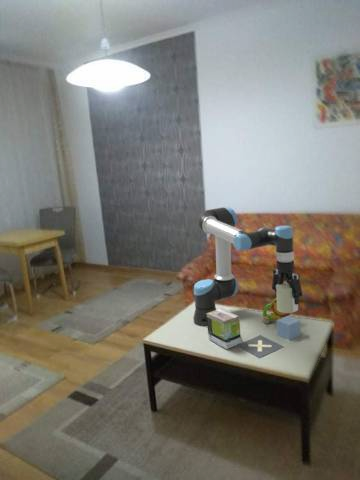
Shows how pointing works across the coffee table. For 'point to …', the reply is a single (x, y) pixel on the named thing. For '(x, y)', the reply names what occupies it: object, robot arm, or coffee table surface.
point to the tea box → (224, 328)
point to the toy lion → (275, 315)
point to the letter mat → (260, 346)
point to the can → (284, 298)
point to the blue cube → (288, 327)
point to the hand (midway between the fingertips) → (287, 307)
